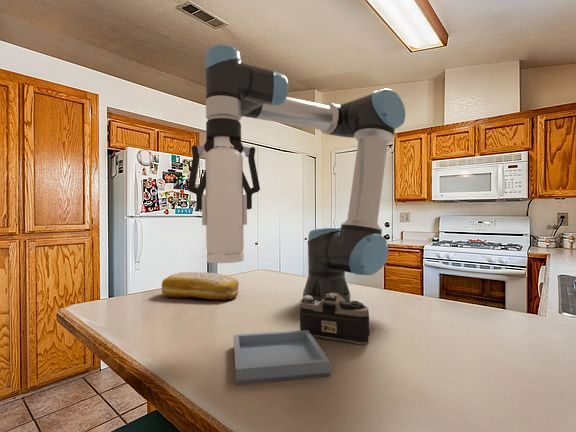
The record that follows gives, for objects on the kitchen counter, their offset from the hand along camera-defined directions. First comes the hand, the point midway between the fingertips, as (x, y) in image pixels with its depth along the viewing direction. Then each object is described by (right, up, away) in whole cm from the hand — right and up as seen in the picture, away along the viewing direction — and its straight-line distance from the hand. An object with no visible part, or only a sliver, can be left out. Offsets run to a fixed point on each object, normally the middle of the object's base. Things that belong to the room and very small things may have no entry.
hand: (224, 224), depth 74 cm
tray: (+12, -25, -10) cm, 30 cm away
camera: (+25, -26, +4) cm, 36 cm away
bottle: (0, -8, 0) cm, 8 cm away
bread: (-16, -26, +40) cm, 50 cm away
